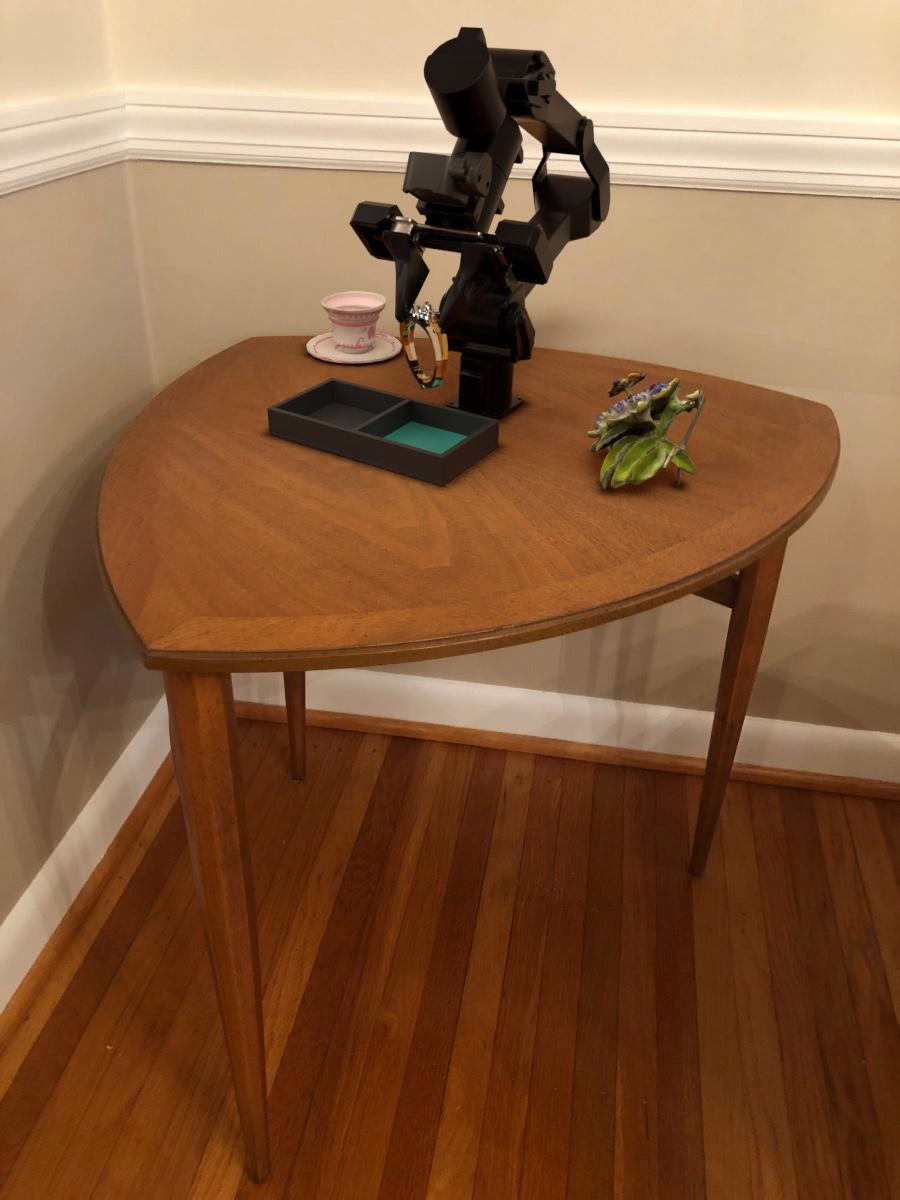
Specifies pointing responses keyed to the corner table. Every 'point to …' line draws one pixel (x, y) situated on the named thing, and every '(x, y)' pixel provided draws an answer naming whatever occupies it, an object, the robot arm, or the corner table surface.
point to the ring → (438, 344)
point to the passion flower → (643, 431)
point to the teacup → (354, 330)
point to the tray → (385, 429)
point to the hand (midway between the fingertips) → (419, 324)
